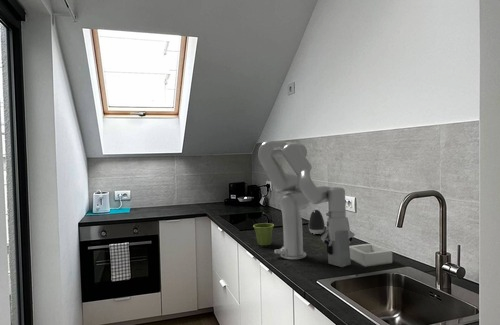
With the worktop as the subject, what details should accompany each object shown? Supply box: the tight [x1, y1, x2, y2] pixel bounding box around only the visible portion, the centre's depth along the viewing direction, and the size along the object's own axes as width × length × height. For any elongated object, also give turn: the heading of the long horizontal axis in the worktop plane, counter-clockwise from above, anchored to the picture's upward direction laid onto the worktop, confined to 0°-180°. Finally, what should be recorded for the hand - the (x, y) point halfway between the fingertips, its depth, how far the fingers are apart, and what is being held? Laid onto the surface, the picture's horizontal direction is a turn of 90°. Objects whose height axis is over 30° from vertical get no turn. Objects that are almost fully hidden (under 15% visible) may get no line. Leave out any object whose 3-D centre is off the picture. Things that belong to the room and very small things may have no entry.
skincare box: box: [325, 230, 352, 268], centre depth 160 cm, size 8×7×16 cm
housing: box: [349, 243, 393, 268], centre depth 164 cm, size 14×15×6 cm
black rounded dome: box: [308, 209, 326, 235], centre depth 221 cm, size 10×10×15 cm
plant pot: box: [252, 222, 275, 246], centre depth 198 cm, size 12×12×11 cm
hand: (338, 252), depth 160 cm, fingers closed on skincare box, 7 cm apart
